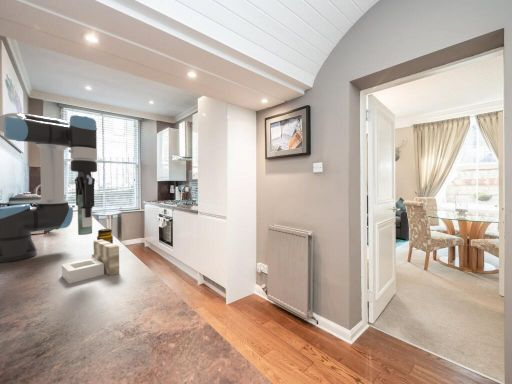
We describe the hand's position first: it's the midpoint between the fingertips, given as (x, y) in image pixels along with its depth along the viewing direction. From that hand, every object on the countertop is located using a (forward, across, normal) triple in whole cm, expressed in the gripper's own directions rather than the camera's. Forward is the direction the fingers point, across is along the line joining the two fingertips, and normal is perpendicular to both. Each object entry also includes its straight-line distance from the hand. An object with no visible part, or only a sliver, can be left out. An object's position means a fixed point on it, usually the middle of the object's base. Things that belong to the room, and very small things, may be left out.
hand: (85, 225), depth 82 cm
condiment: (+18, -21, +12) cm, 30 cm away
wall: (+18, -1, +6) cm, 19 cm away
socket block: (+18, 0, -1) cm, 18 cm away
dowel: (+3, 0, 0) cm, 3 cm away
